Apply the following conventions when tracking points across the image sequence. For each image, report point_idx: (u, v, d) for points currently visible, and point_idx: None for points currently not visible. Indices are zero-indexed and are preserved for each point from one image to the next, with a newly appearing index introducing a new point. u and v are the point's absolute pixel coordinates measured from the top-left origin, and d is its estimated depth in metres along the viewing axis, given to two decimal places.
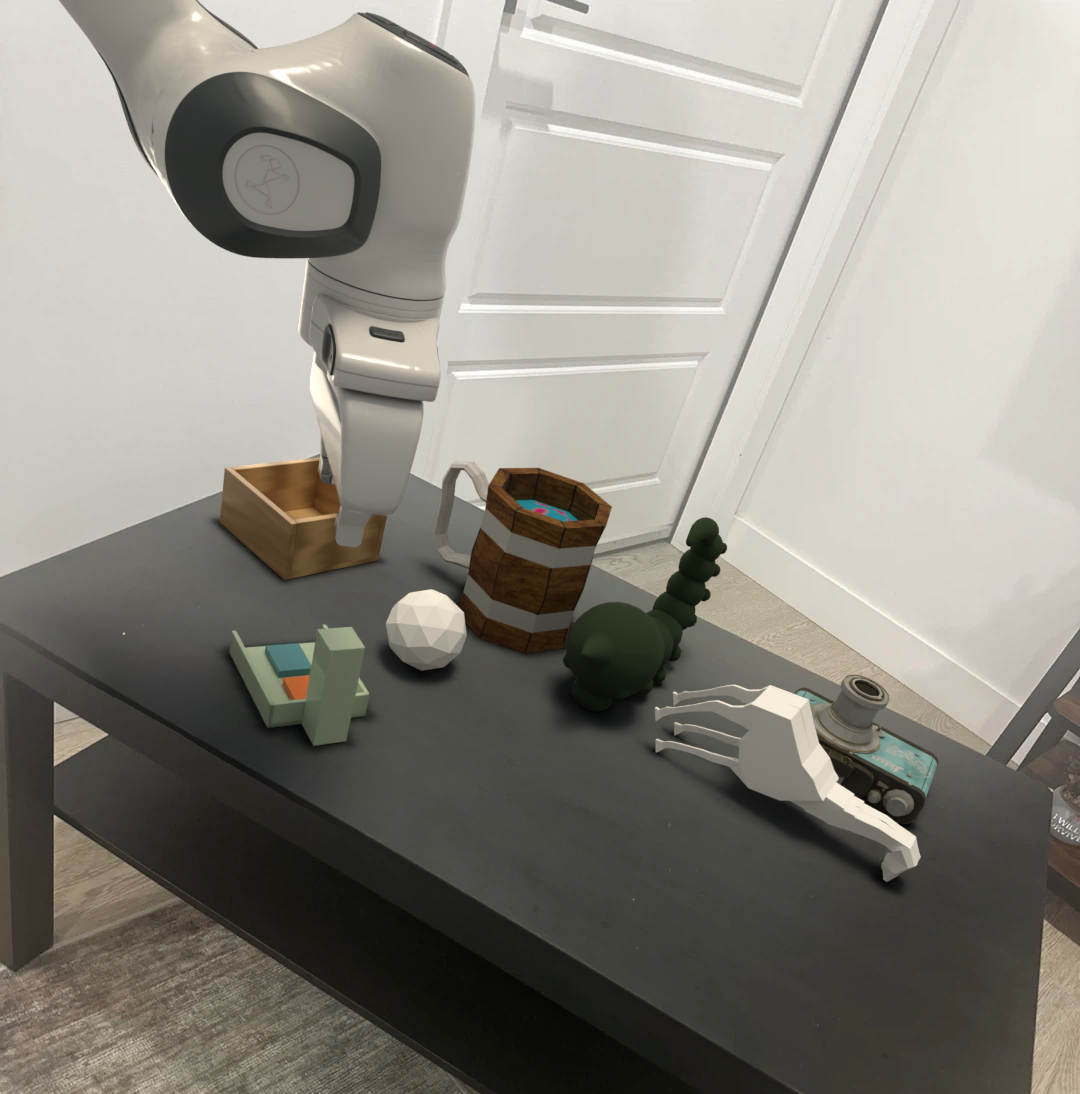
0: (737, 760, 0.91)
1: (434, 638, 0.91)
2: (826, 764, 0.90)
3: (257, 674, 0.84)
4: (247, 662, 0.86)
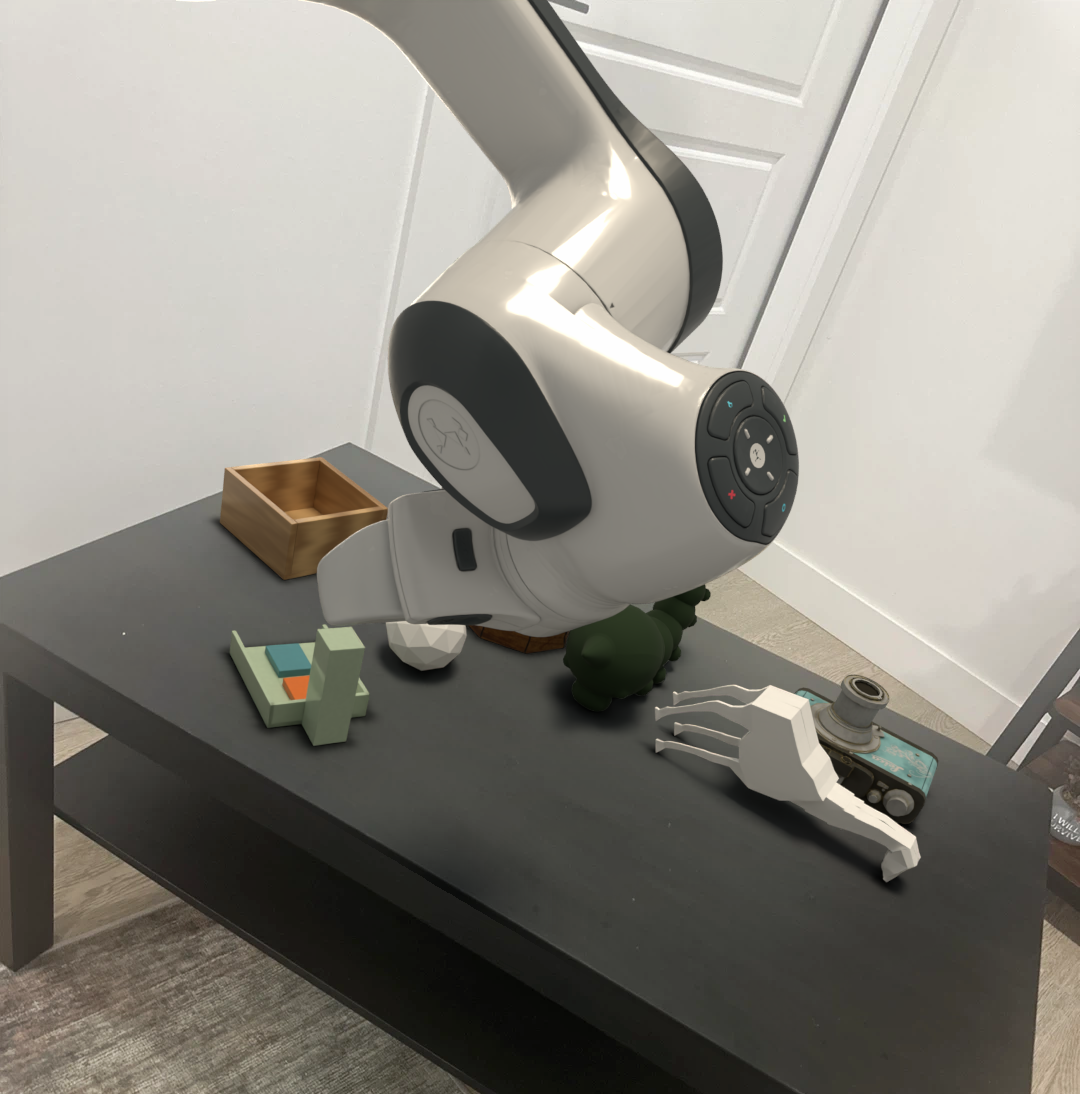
0: (737, 760, 0.91)
1: (434, 638, 0.91)
2: (826, 764, 0.90)
3: (257, 674, 0.84)
4: (247, 662, 0.86)
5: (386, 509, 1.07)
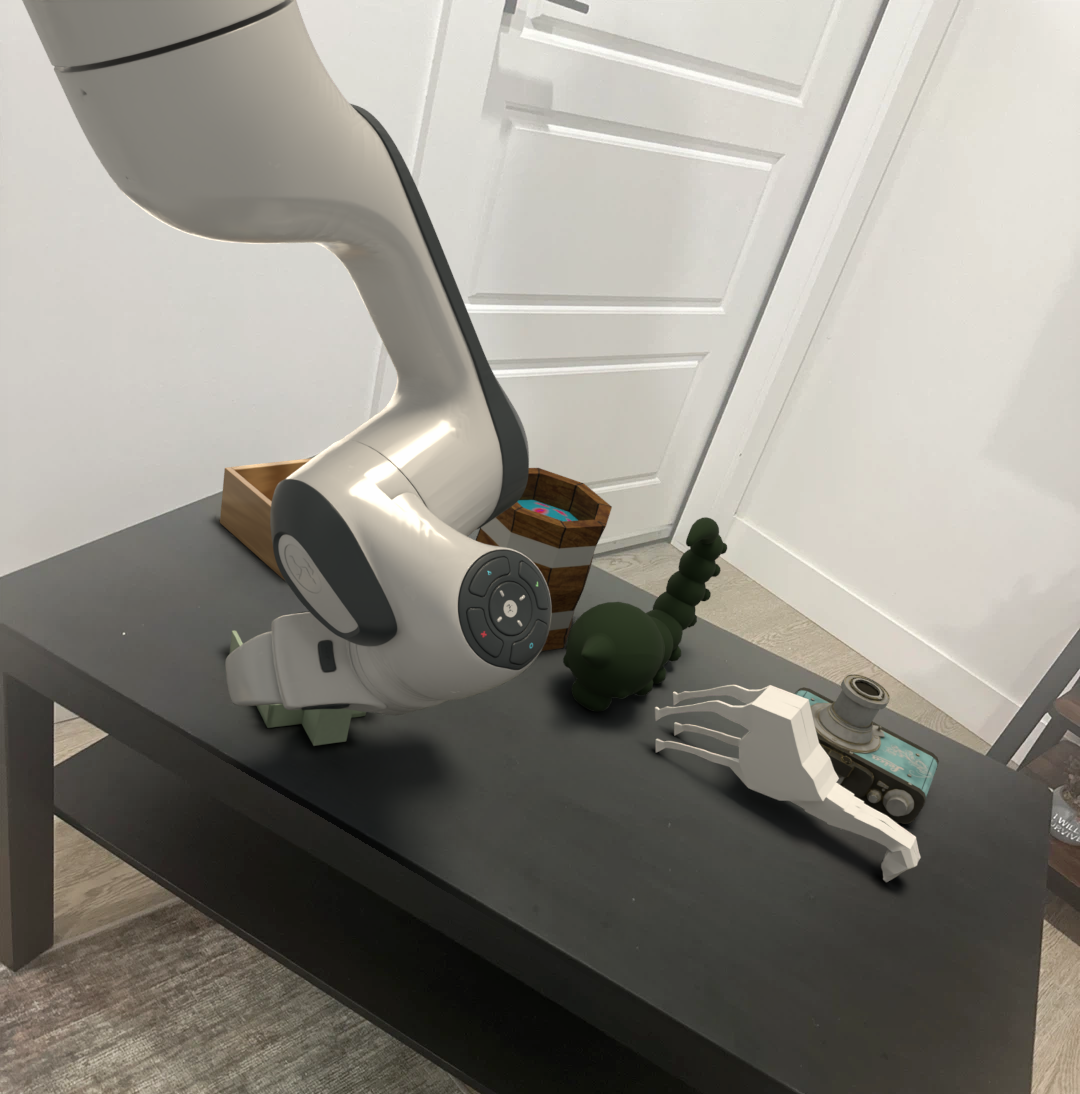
0: (737, 760, 0.91)
1: None
2: (826, 764, 0.90)
3: None
4: None
5: None
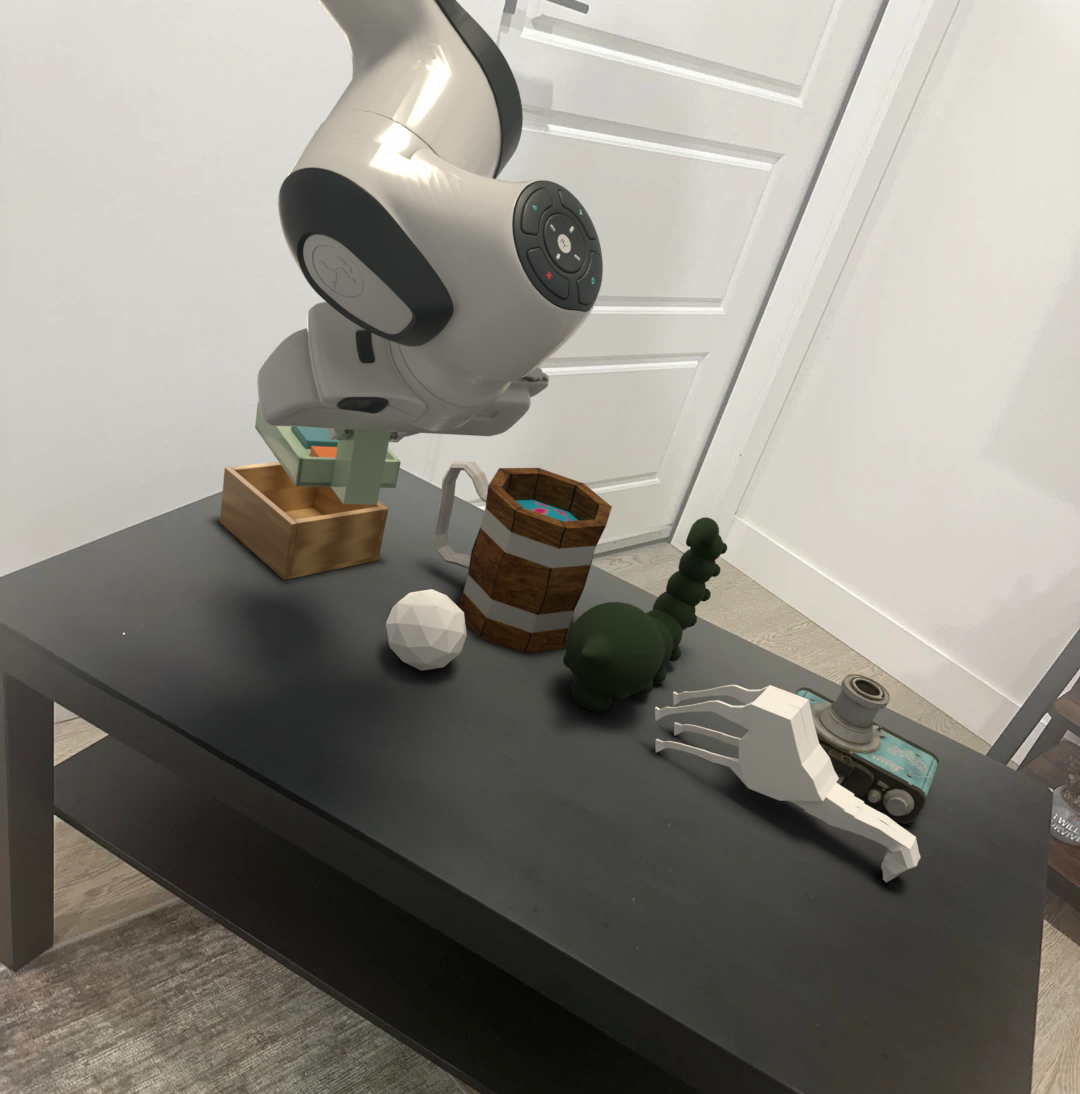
0: (737, 760, 0.91)
1: (434, 638, 0.91)
2: (826, 764, 0.90)
3: (285, 434, 0.82)
4: None
5: (386, 509, 1.07)
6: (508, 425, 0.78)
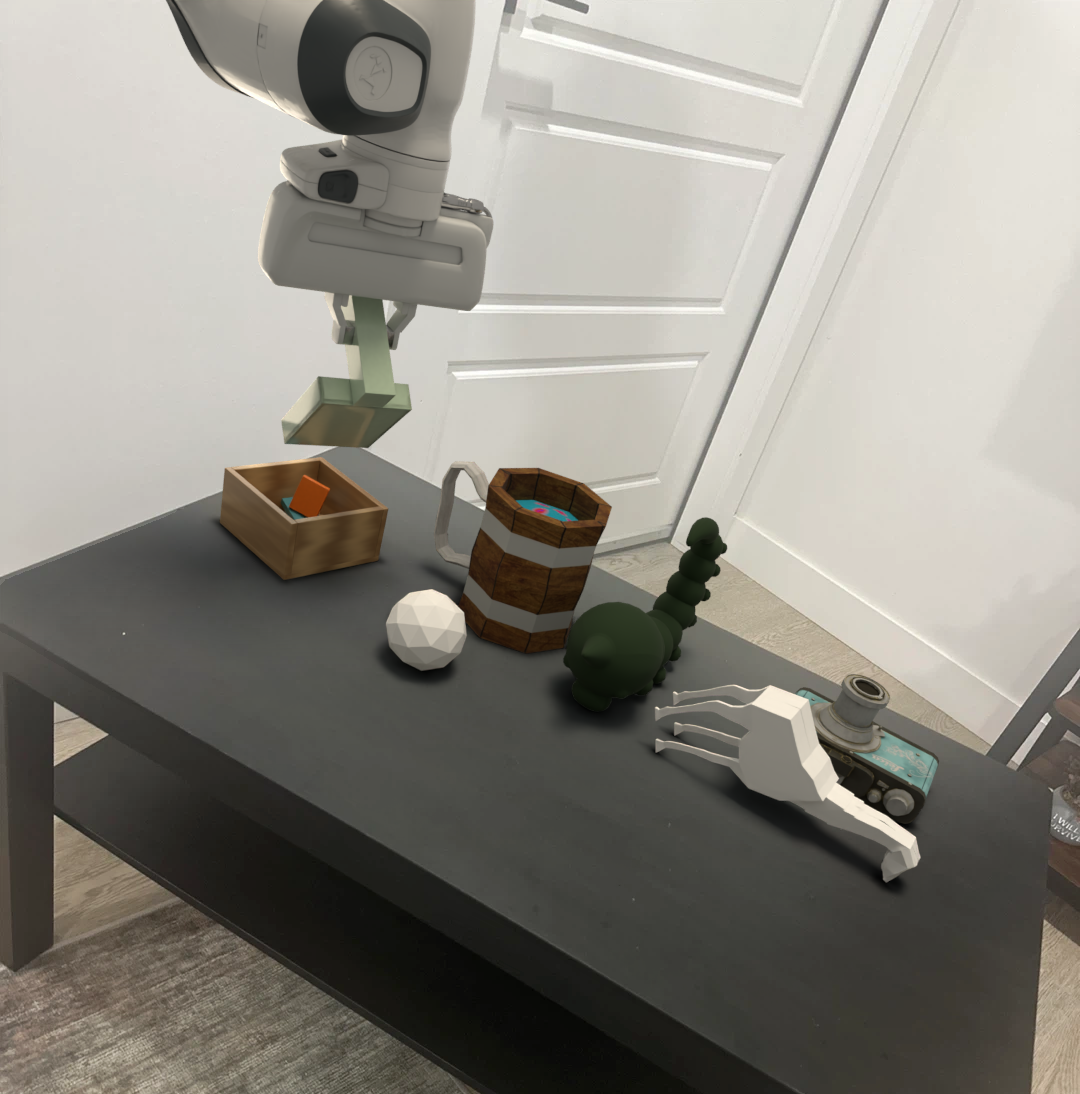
0: (737, 760, 0.91)
1: (434, 638, 0.91)
2: (826, 764, 0.90)
3: None
4: (296, 403, 0.94)
5: (386, 509, 1.07)
6: (478, 280, 0.89)
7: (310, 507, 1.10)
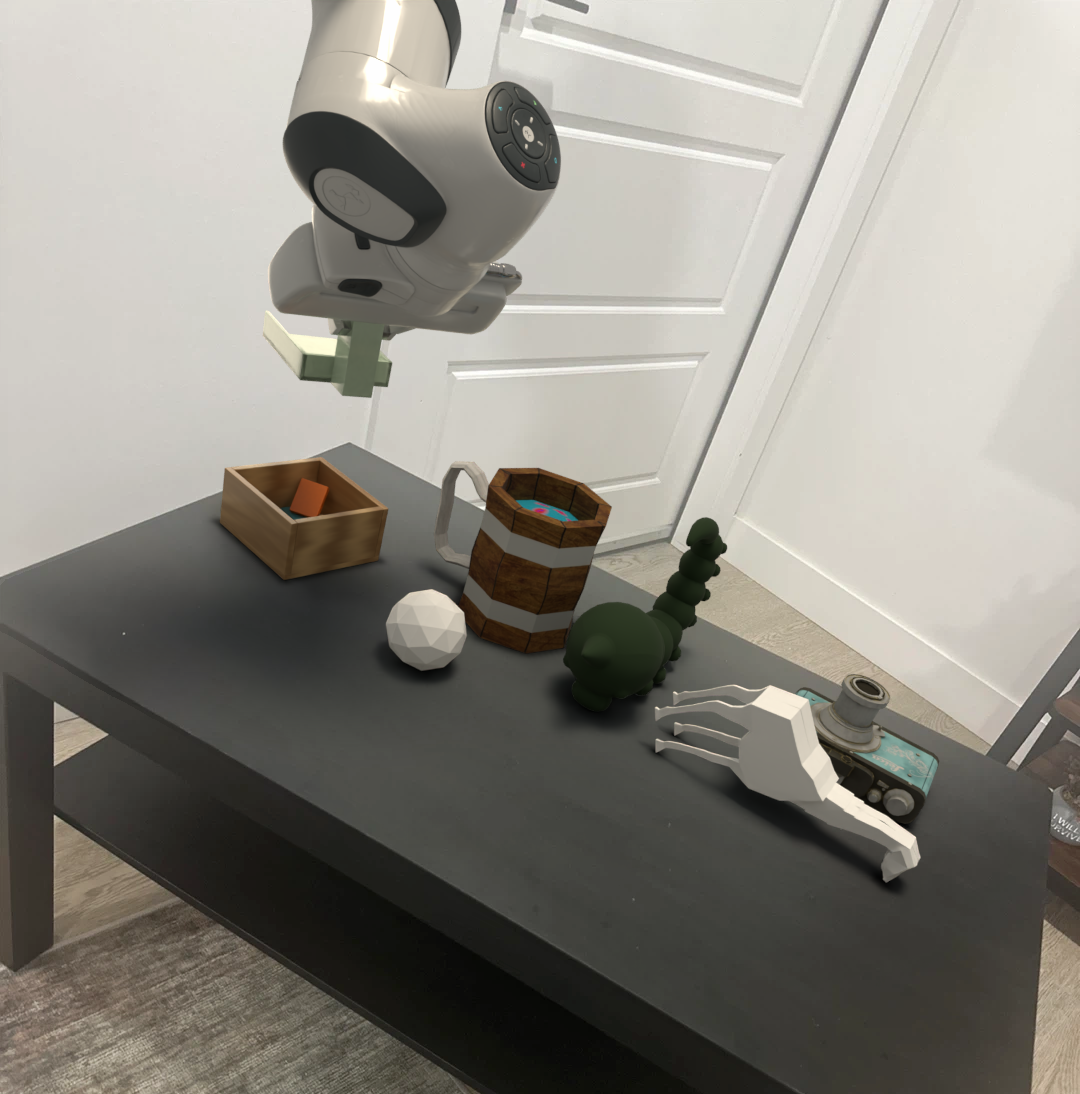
0: (737, 760, 0.91)
1: (434, 638, 0.91)
2: (826, 764, 0.90)
3: (290, 336, 0.92)
4: (280, 329, 0.94)
5: (386, 509, 1.07)
6: (487, 322, 0.88)
7: (310, 506, 1.10)
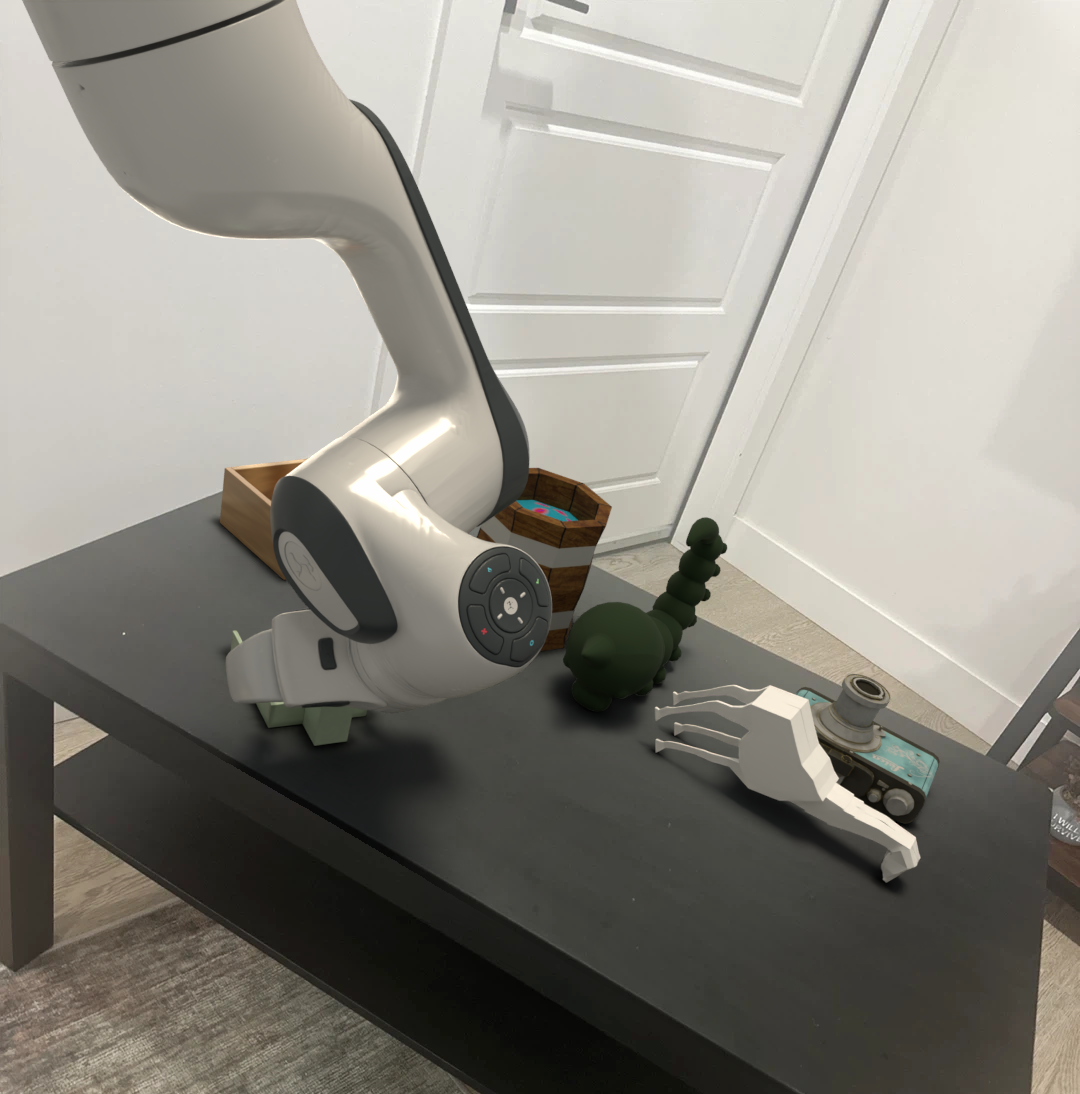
0: (737, 760, 0.91)
1: None
2: (826, 764, 0.90)
3: None
4: None
5: None
6: None
7: None
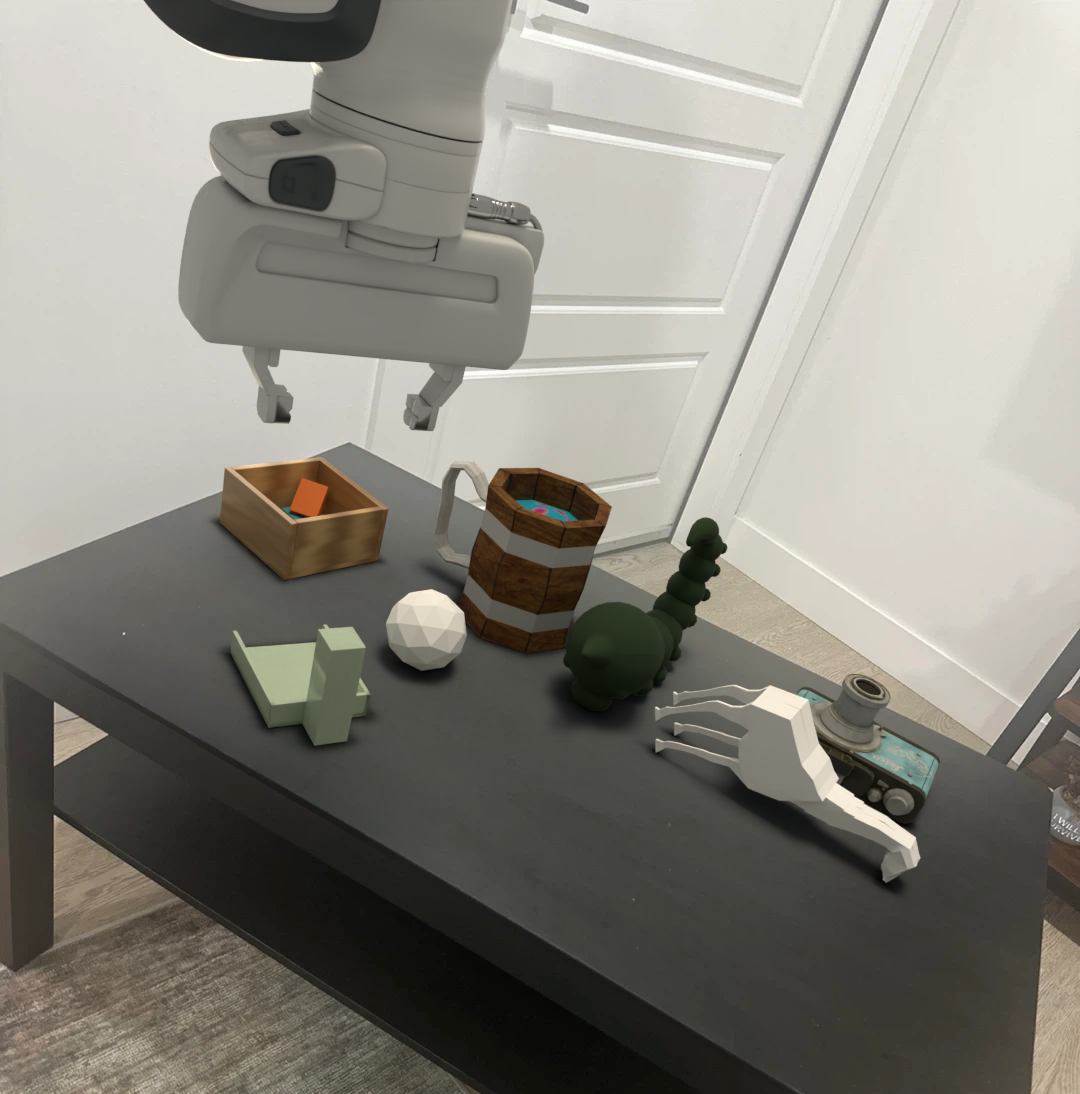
0: (737, 760, 0.91)
1: (434, 638, 0.91)
2: (826, 764, 0.90)
3: (258, 674, 0.84)
4: (248, 662, 0.86)
5: (386, 509, 1.07)
6: (521, 324, 0.59)
7: (310, 506, 1.10)
